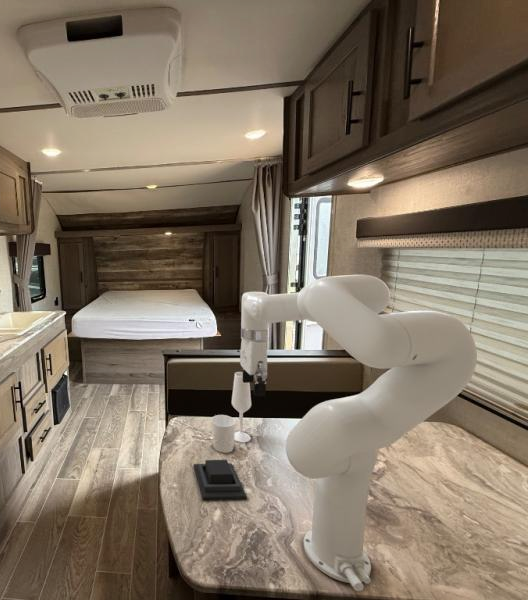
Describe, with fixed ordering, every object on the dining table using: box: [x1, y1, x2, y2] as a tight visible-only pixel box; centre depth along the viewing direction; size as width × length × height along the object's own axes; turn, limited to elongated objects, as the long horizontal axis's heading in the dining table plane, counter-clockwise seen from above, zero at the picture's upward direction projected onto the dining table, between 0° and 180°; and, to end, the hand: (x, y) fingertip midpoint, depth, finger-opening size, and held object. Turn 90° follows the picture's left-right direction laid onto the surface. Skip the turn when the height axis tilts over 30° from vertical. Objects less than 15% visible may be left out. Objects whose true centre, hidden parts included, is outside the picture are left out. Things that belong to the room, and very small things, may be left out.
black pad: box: [204, 459, 233, 484], centre depth 96 cm, size 6×6×4 cm
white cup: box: [211, 414, 236, 454], centre depth 113 cm, size 8×8×10 cm
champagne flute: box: [231, 371, 252, 443], centre depth 118 cm, size 7×7×24 cm
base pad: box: [193, 462, 247, 501], centre depth 97 cm, size 14×12×2 cm
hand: (253, 388), depth 99 cm, fingers open, 9 cm apart
